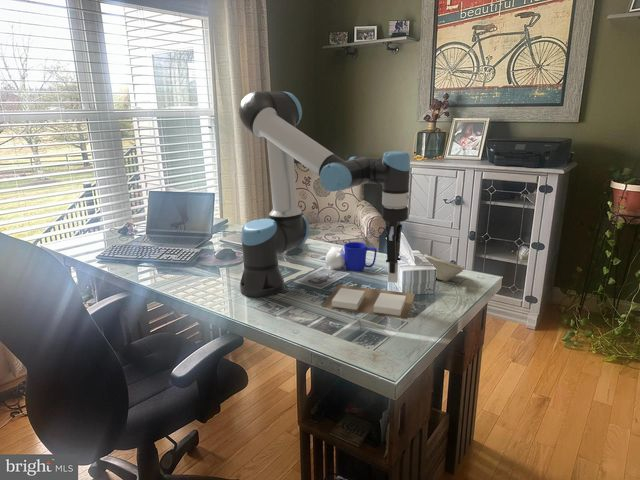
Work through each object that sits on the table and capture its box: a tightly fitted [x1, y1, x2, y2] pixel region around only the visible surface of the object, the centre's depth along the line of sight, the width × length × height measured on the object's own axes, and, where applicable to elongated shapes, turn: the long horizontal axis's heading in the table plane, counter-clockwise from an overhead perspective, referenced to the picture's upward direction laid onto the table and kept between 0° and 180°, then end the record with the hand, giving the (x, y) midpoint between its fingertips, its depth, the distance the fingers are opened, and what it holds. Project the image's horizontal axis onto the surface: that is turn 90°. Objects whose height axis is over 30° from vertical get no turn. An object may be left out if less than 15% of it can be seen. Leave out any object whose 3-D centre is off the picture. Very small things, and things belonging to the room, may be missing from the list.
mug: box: [343, 241, 378, 273], centre depth 167 cm, size 8×12×10 cm
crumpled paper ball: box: [325, 246, 346, 271], centre depth 172 cm, size 9×11×12 cm
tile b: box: [373, 293, 406, 316], centre depth 135 cm, size 8×2×10 cm
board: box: [321, 284, 416, 319], centre depth 141 cm, size 26×18×1 cm
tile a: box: [332, 288, 365, 310], centre depth 140 cm, size 8×2×10 cm
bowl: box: [422, 253, 465, 282], centre depth 158 cm, size 15×14×10 cm
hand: (392, 281), depth 136 cm, fingers closed
